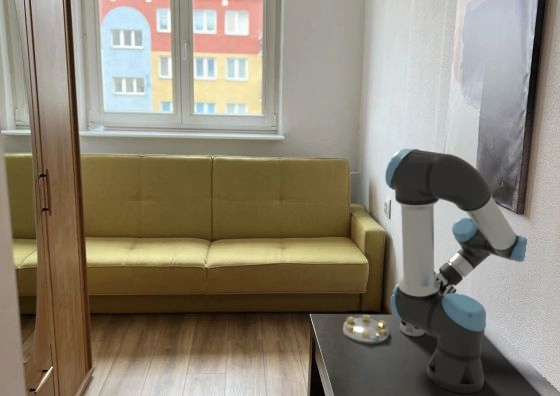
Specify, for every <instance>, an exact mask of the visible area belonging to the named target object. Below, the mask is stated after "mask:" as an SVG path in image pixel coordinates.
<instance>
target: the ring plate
mask: <svg viewBox="0 0 560 396" xmlns="http://www.w3.org/2000/svg"><path fill="white" fill-rule="evenodd" d="M342 327H343V328H342V332H343V334H344V335H345V336H346V337H347V338H348V339H350V340H352V341H354V342H356V343H361V344H367V345H373V344H374V345H376V344H381V343H383V342H386V341H387V340H388V338H389V333H390V331H389V330H390V329H389V328H388V327H387V323H386V321H384V320H383V319H382V320H381V319H380V320H376V319H372V318H371V314H370V315H369V314H362V317H354V316H351V315H350V316H348V317H347V318H346V321H344V323H343V326H342Z"/></svg>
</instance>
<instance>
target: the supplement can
mask: <svg viewBox="0 0 560 396" xmlns="http://www.w3.org/2000/svg"><path fill="white" fill-rule="evenodd" d="M399 329H400V331H401V332H402V333H403V334H404V335H407V336H410V337H415V338H416V337H417V338H418V337H421V336H423V335H425V333H426V331H424V330H422V329H420V328H417V327H415V326H413V325H411V324H407V323H405V322H403V321H402V320H400V325H399Z"/></svg>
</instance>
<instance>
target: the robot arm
mask: <svg viewBox="0 0 560 396" xmlns="http://www.w3.org/2000/svg"><path fill="white" fill-rule="evenodd" d="M384 176H385V182H386V185H387V186H388V188H389V189H391V190H393V191H394V193H395V195H394V197H395V201H396V202H397V203H398V204H399V205H400V206H401V211H400V213H401V237H402V238H401V239H402V241H401V242H402V270H403V271H402V272H403V273H402V274H403V277H402V278H401V279H400V280H399V281H398V283H397V284H396V285H395V286H394V288H393V290H392V295H391V296H390V307H391V310H392V313H393V314H394V316H395V317H396V318H397V319H398V320H400V321H401V320H402V321H403V322H405V323H407V324H411V325H413V326H415V327H417V328H420V329H422V330H424V331H425V333H428V334H431V335H433V336H435V337H437V342H436V347H435V350H434V352H433V354H432V355H431V357H430V359H429V361H428V363H427V369H426V374H427V376H428V378H429V379H430V381H432V382H433V383H434V384H436V386H438V387H440V388H442V389H445V390H447V391H450V392H454V393H458V394H473V393H476V392H479V391H481V389H483V387H484V381H485V375H484V371H483V366H482V361H481V354H482V353H481V352H482V349H483V348H482V347H483V341H484V336H485V335H484V334H485V330H486V327H487V312H486V310H485V308H484V306H483V304H482V303H480V301H478V300H476V299H474V298H473V297H471V296H468V295H466V294H462V293H461V294H460V293H458V292H457V289H456V286H458V285H459V284H460V283H461V282H462V281H463V278H466V277H467V276H468V275H470V273H471V272H472V271H474V269H476V268H477V267H478V266H479V265H480V264H481V263H483V262H484V261H485V260H486V259H487V258H488V257H490V256H491V255H494V256H496V257H500V258H503V259H506V260H509V261H515V262H519V263H522V262H524V261H525V260H524V258H525V252H526V245H527V239H526V238H527V237H525V236H522V235H517V234H516V233H515V231H514V229H513V228H512V226H511V225H510V223H509V221H508V220H507V218H506V217H505V215H504V214H503V212H502V210H501V209H500V207H499V205H498V204H497V203H496V201H495V200H494V198H493V191H492V190H493V189H492V186H491V185H490V183H489V182H488V181H487V179H486V178H485V177H484V175H483V174H482V173H481V172H480V171H479V170H478V169H477V168H476V167H474V166H473V165H472V164H471V163H469V162H468V161H466V160H465V159H463V158H461V157H459V156H456V155H454V154H450V153H443V152H442V153H441V152H434V151H428V150H420V149H418V148H414V149H412V148H411V149H410V148H402V149H400V150H397V152H395V154H393V156H391V159H390V160H389V162H388V164H387V166H386V170H385V175H384ZM440 200H442V201H446V202H449V203H452V204H454V205H455V206H456V207H457V208H458V209H459V210H461V211H462V212H466V214H467V215H468V217H461V218H458V219H457V220H456V221H455V222H454V223H453V225H452V227H451V232H452V234H453V236H454V239H455V240H456V242H457V243H458V244H459V246H460V247H461V248H460V249H459V250H458V251H457V252H456V253H454V255H452V256H451V257H450V258H449V259H448V260H447V262H445V263H444V264H442V266H440V267H439V269H438V271H439V273H436V271H435V234H434V233H435V232H434V231H435V230H434V228H435V227H434V226H435V222H434V220H435V219H434V217H435V216H434V215H435V213H434V212H435V211H434V209H435V207H434V205H436V204H437V203H438V202H439V201H440ZM469 217H470V218H469ZM456 292H457V293H456Z"/></svg>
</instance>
